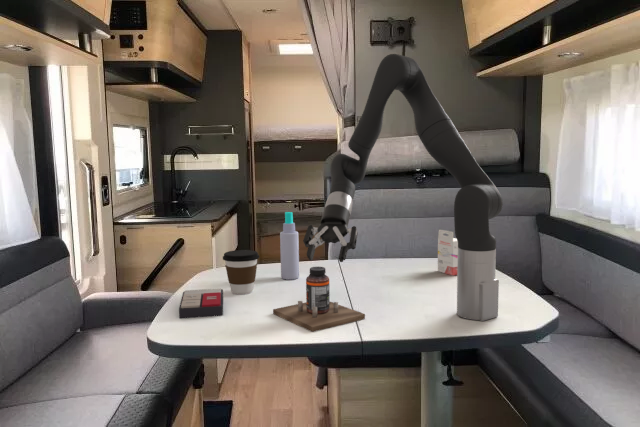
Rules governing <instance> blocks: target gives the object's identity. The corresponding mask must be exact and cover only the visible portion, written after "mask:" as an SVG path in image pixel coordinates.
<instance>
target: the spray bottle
mask: <svg viewBox="0 0 640 427" xmlns="http://www.w3.org/2000/svg"><path fill="white" fill-rule="evenodd" d="M284 218H285V219H284V223H282V225H283V226H282V231H280V233H279V238H280V239H279V240H280V241H279V242H280V243H279V244H280V248H279V249H280V250H279V251H280V277H281V279H282V280H285V279H286V280H285V281H287V280H288V281H290V280H291V281H292V280H293V279H294V280H297V279H299V277H300V255H299V254H300V250H299V249H300V247H299V244H300V243H299V241H300V240H299V232H298V231H297V230H296V223H295V222H294V216H293V211H285V212H284Z"/></svg>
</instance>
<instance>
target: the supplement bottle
mask: <svg viewBox="0 0 640 427" xmlns="http://www.w3.org/2000/svg"><path fill="white" fill-rule="evenodd" d="M305 287H306V288H305V290H306V292H305V294H306V295H305V297H306V298H305V301H306V307H307V311H308V312H309V313H312V307H317V314H324V313H326V312H328V311H329V307H330V302H331V301H330V295H331V294H330V277H329V276H328V275H327V273H326V267H324V266H312V267H310V268H309V274H308V276H307V277H306V278H305ZM312 314H313V313H312Z"/></svg>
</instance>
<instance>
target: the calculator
mask: <svg viewBox="0 0 640 427" xmlns="http://www.w3.org/2000/svg"><path fill="white" fill-rule="evenodd" d="M178 313H179V316H178V317H179V319H192V318H194V319H196V318H208V317H223V316H224V290H223V289H222V288H206V289H189V290H188V289H187V290H184V291H183V292H182V296H181V300H180V303H179V307H178Z"/></svg>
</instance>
